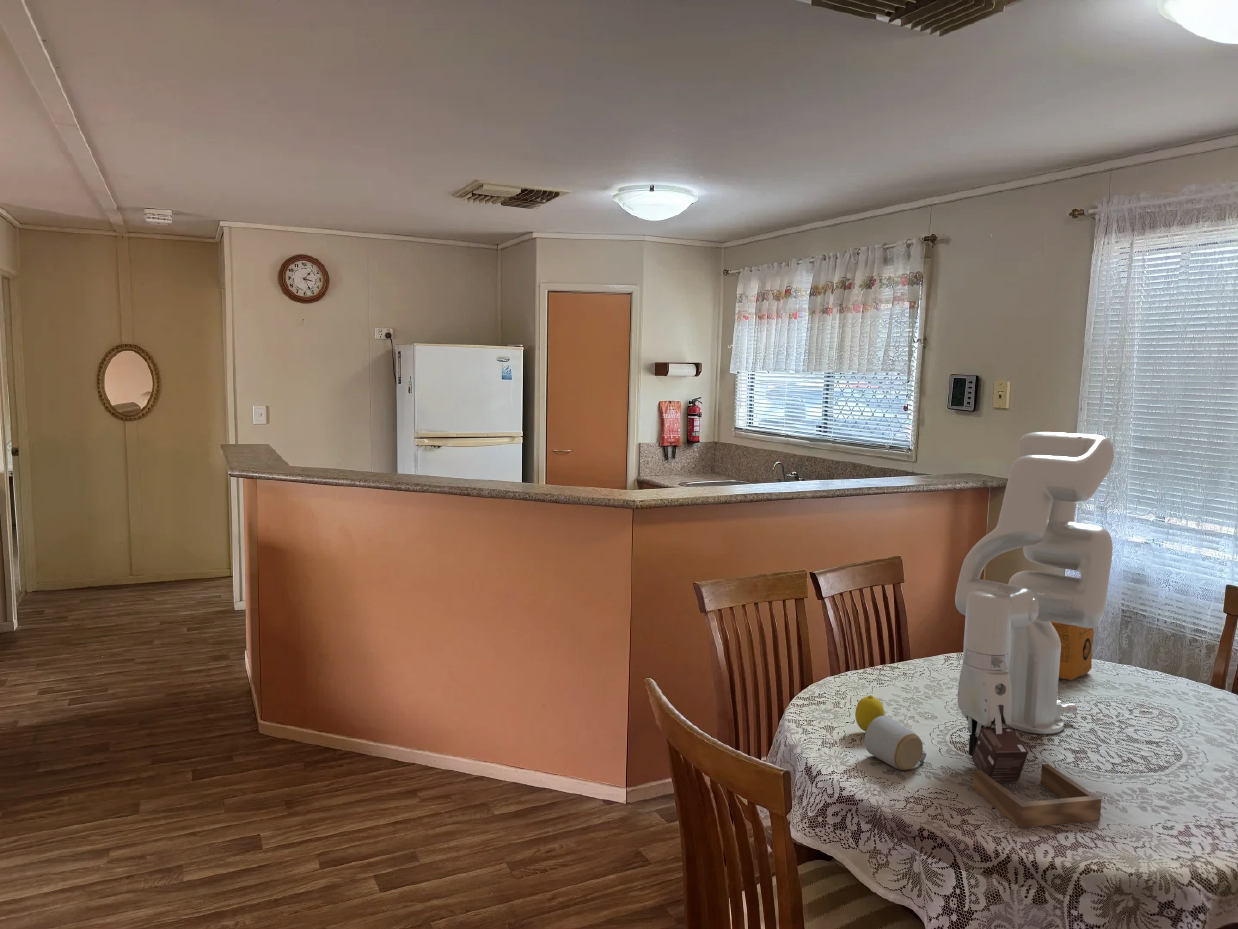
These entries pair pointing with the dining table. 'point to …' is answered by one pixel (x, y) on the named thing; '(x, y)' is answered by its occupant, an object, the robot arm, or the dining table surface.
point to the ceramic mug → (893, 743)
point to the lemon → (868, 711)
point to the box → (1000, 754)
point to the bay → (1047, 812)
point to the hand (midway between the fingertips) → (978, 756)
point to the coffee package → (1074, 650)
